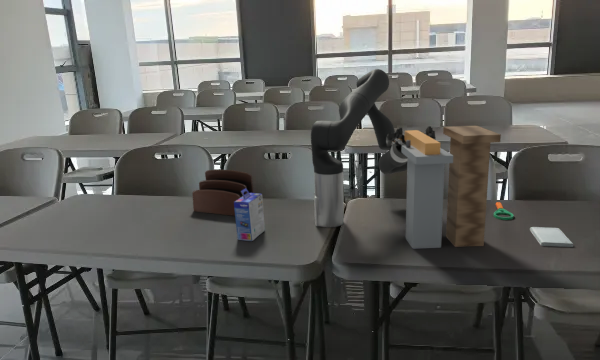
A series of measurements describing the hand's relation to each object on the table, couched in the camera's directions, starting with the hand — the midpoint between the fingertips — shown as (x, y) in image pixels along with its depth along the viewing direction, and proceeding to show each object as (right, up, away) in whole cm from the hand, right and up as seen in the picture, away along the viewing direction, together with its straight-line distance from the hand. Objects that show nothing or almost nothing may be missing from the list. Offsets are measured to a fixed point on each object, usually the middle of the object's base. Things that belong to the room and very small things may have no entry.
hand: (415, 129), depth 142 cm
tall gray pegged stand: (+1, -33, -3) cm, 33 cm away
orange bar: (0, -5, -5) cm, 7 cm away
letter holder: (-61, -26, +33) cm, 74 cm away
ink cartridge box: (-49, -32, +8) cm, 59 cm away
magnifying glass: (+34, -26, +21) cm, 47 cm away
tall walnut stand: (+13, -32, -2) cm, 35 cm away
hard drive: (+38, -32, -2) cm, 50 cm away
